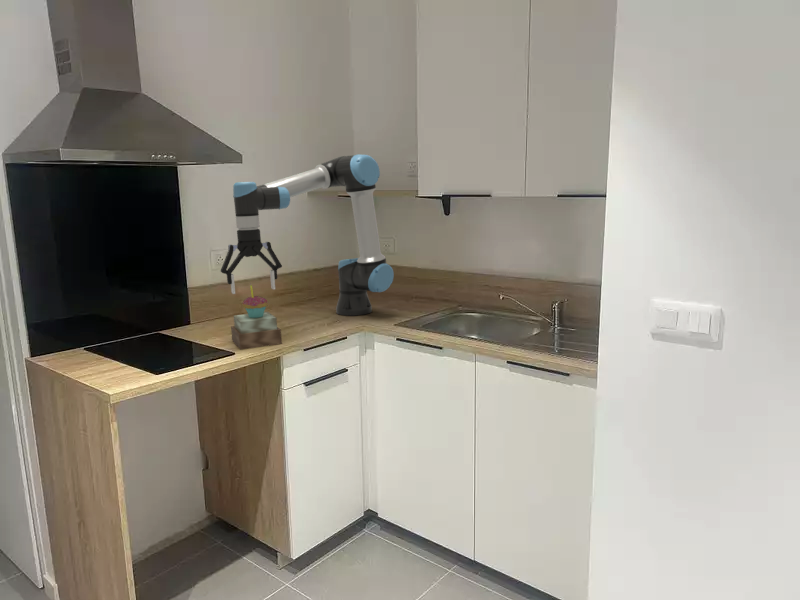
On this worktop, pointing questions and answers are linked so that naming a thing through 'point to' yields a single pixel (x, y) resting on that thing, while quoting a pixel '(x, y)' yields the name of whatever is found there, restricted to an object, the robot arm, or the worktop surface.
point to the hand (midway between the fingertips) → (253, 291)
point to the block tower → (255, 331)
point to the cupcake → (255, 305)
